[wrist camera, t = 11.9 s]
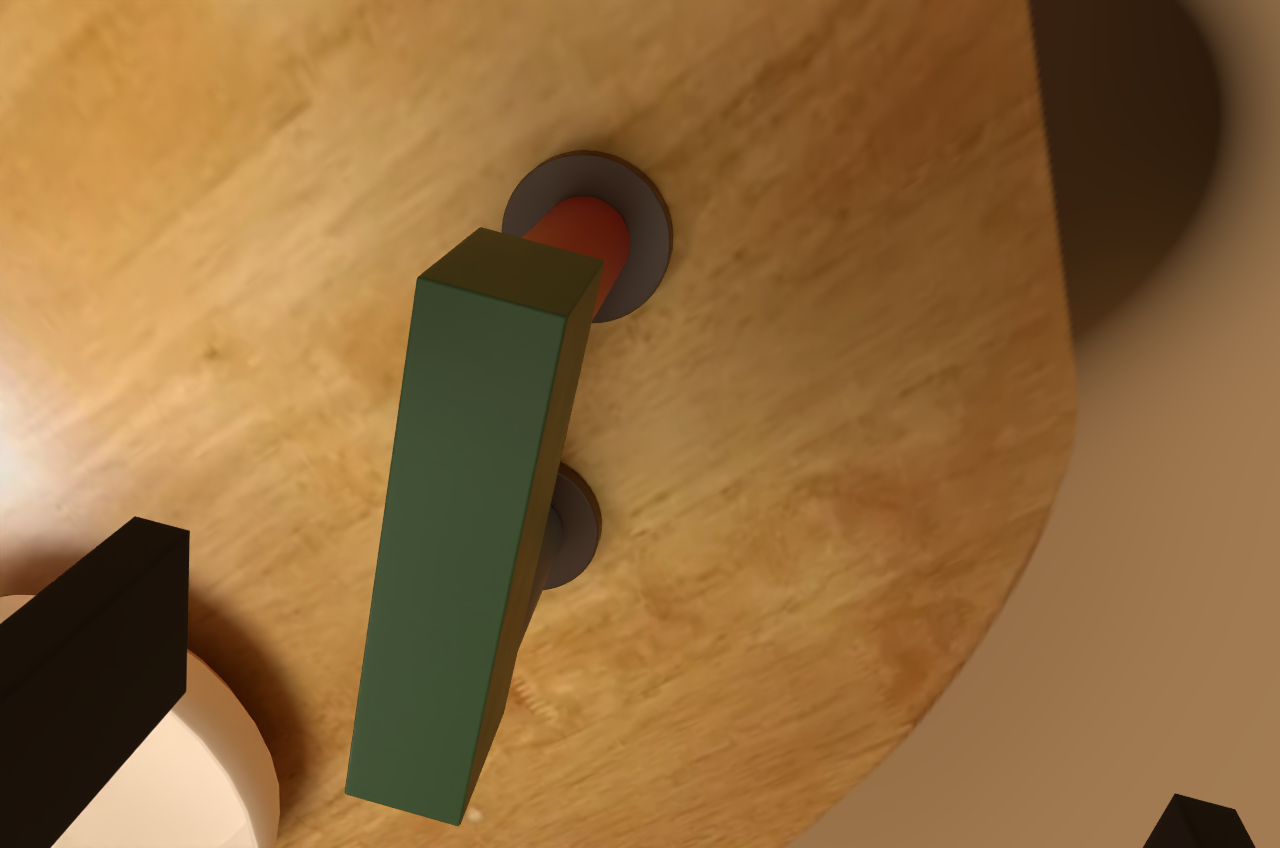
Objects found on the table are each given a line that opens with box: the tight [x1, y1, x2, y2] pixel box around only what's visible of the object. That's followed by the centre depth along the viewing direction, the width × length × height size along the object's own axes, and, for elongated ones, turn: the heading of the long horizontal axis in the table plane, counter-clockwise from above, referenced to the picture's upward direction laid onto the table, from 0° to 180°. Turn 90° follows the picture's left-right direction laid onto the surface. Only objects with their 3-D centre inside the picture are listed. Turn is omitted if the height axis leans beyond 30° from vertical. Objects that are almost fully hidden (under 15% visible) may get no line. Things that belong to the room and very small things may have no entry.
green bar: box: [345, 227, 605, 826], centre depth 28 cm, size 4×16×5 cm, turn 167°
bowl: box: [0, 595, 280, 848], centre depth 46 cm, size 20×20×6 cm
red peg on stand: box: [502, 151, 673, 323], centre depth 32 cm, size 6×6×9 cm
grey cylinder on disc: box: [518, 463, 601, 649], centre depth 37 cm, size 6×6×9 cm
